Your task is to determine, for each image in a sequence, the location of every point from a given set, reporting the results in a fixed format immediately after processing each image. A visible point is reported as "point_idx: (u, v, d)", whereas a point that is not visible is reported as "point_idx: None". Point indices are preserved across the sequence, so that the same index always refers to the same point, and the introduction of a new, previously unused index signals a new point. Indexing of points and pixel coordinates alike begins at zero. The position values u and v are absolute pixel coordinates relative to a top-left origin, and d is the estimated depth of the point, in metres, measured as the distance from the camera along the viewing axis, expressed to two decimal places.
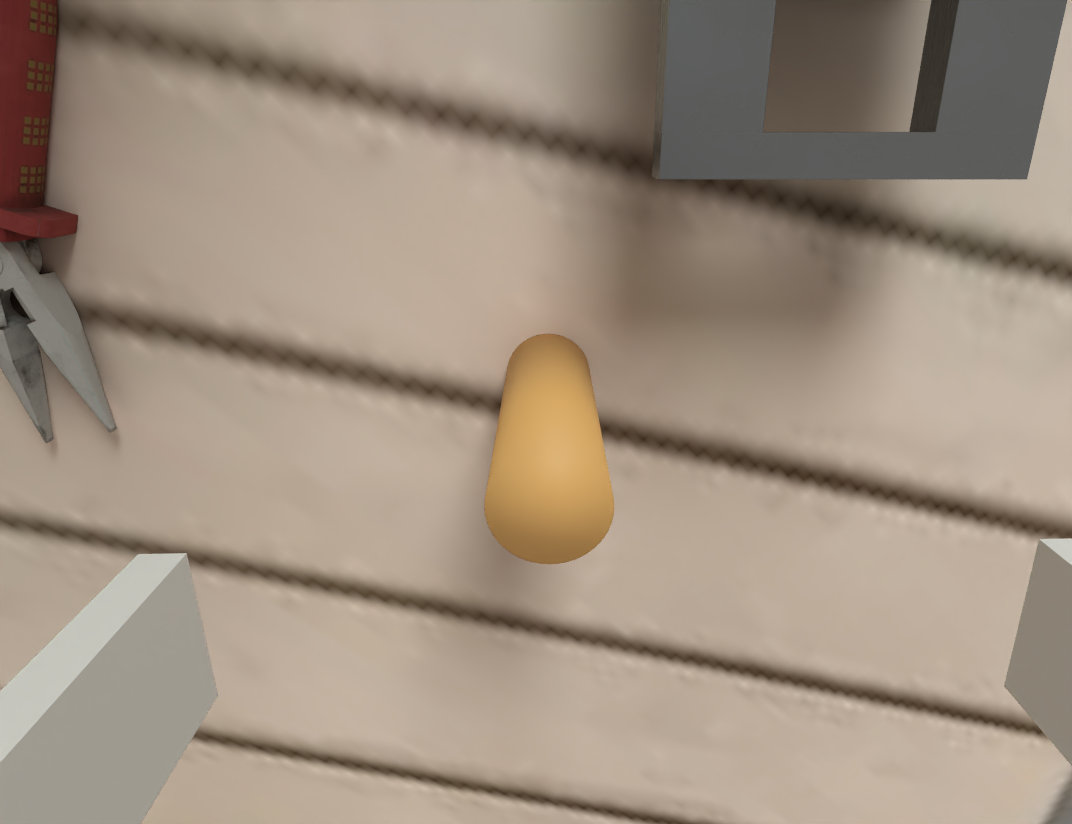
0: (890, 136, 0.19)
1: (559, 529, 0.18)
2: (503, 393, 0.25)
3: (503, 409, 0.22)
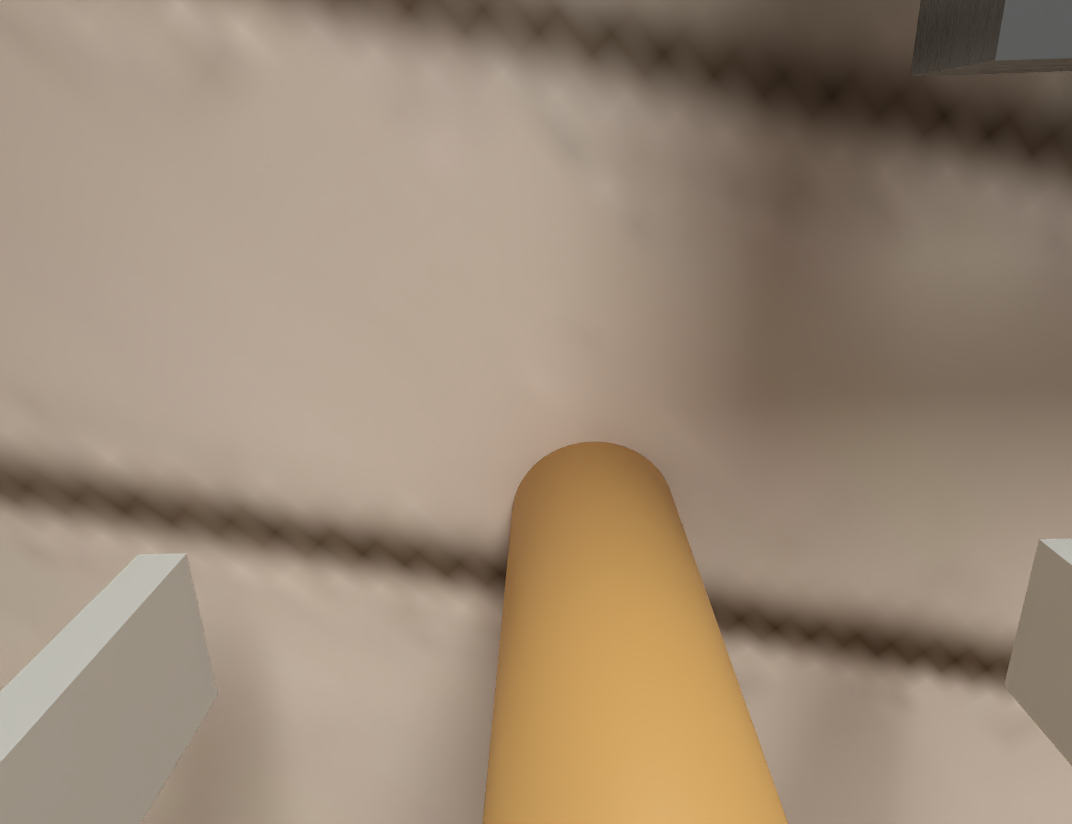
0: None
1: None
2: (504, 610, 0.11)
3: (504, 713, 0.08)
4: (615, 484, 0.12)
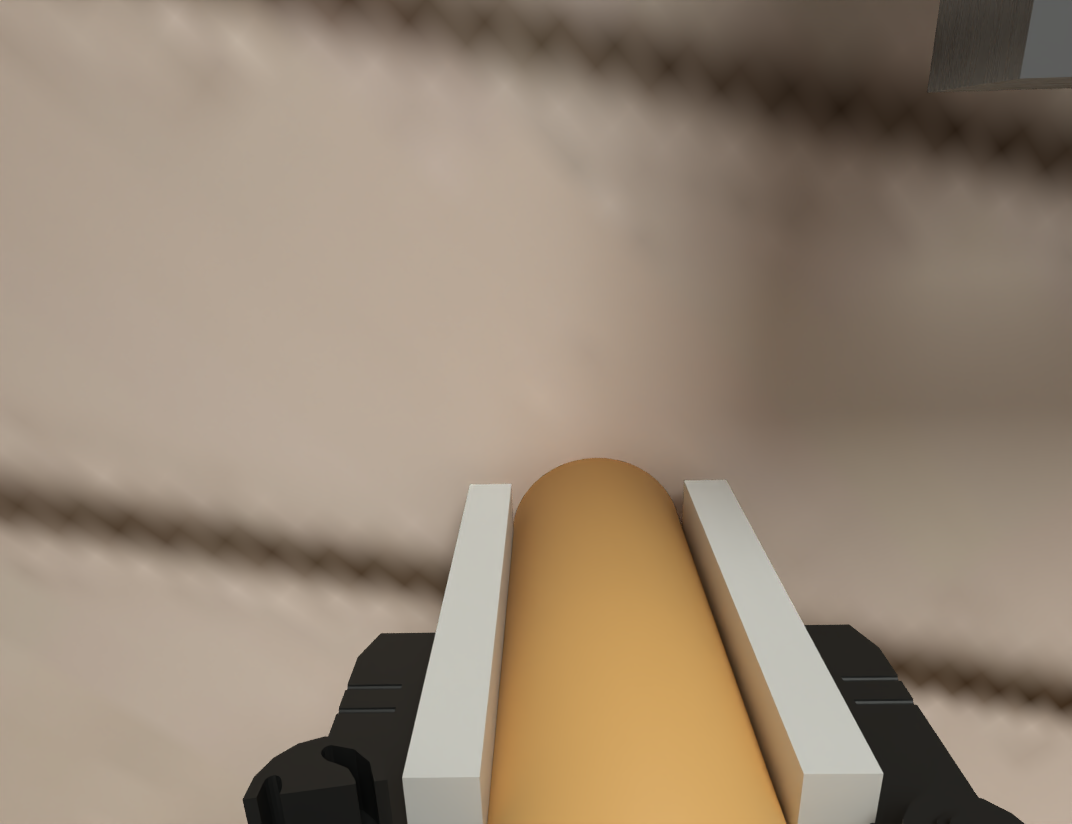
0: None
1: None
2: (504, 635, 0.10)
3: (504, 750, 0.08)
4: (619, 503, 0.12)
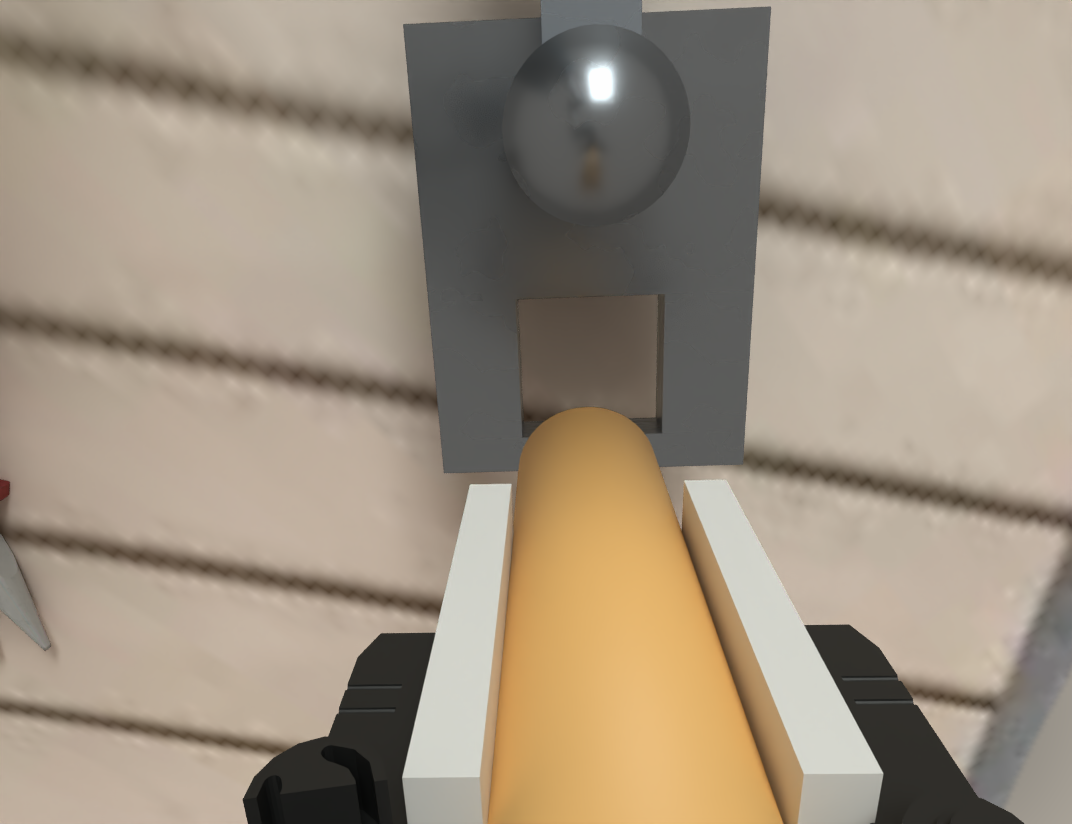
0: None
1: None
2: (513, 534, 0.13)
3: (515, 596, 0.11)
4: (605, 437, 0.15)
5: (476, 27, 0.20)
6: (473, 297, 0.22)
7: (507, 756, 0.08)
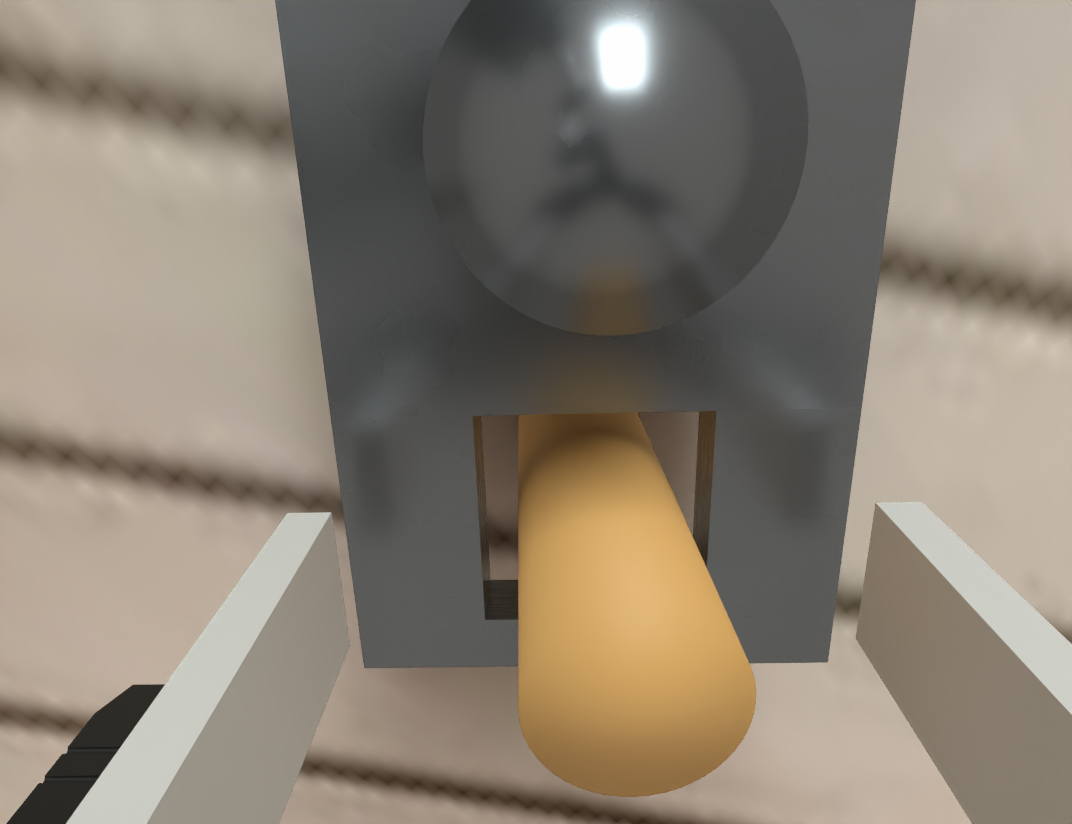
0: None
1: (655, 740, 0.10)
2: (520, 458, 0.16)
3: (527, 494, 0.14)
4: None
5: None
6: (403, 412, 0.14)
7: (533, 581, 0.11)
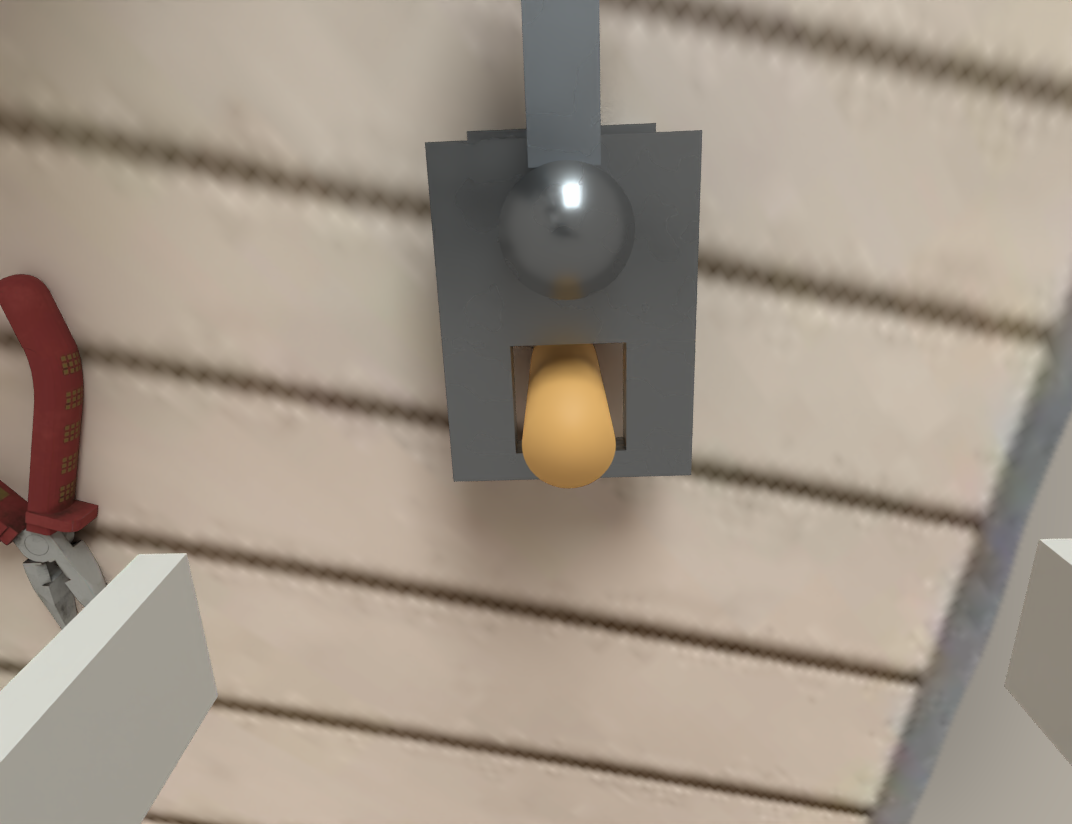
0: None
1: (576, 461, 0.25)
2: (529, 374, 0.32)
3: (531, 383, 0.29)
4: None
5: (480, 144, 0.26)
6: (477, 344, 0.29)
7: (530, 406, 0.26)
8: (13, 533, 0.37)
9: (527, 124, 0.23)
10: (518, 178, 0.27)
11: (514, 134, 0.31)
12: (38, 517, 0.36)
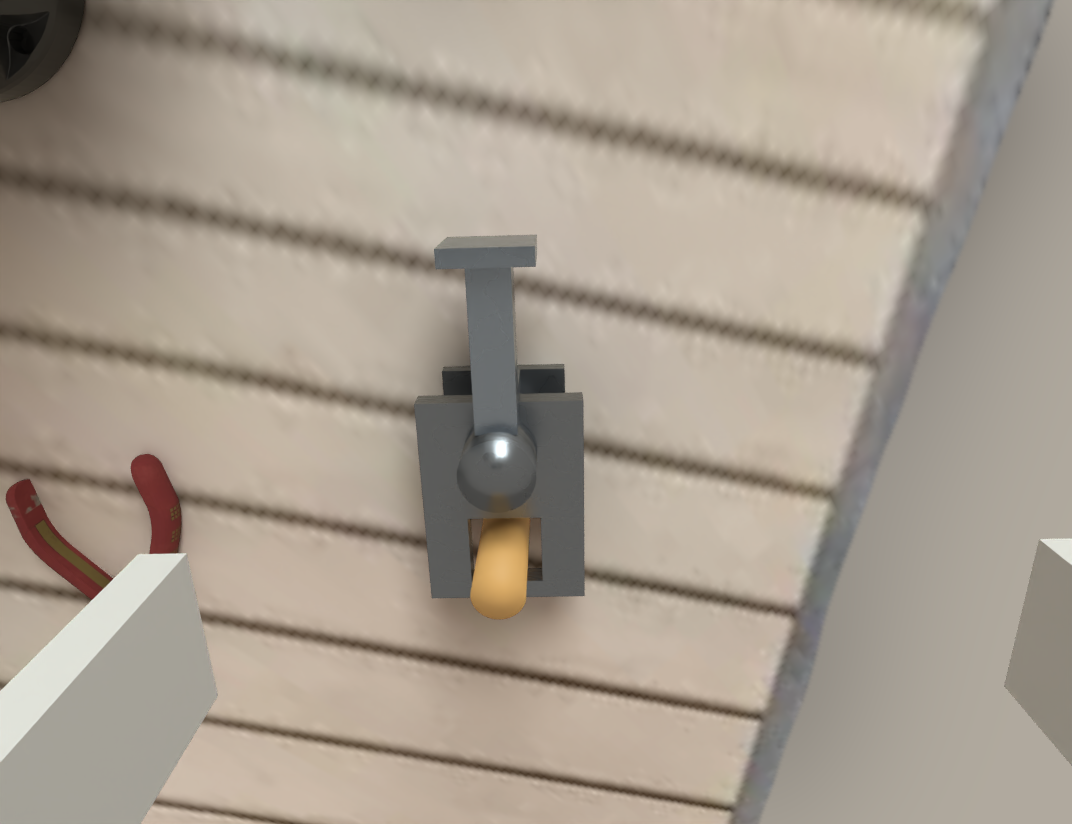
0: None
1: (503, 604, 0.42)
2: (482, 526, 0.48)
3: (480, 541, 0.46)
4: None
5: (448, 406, 0.43)
6: (446, 517, 0.45)
7: (477, 566, 0.43)
8: None
9: (474, 413, 0.40)
10: (471, 424, 0.43)
11: None
12: None
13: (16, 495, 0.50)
